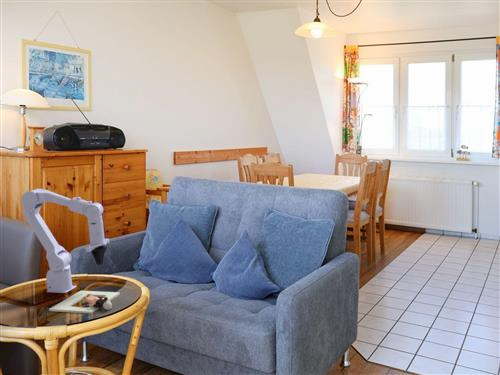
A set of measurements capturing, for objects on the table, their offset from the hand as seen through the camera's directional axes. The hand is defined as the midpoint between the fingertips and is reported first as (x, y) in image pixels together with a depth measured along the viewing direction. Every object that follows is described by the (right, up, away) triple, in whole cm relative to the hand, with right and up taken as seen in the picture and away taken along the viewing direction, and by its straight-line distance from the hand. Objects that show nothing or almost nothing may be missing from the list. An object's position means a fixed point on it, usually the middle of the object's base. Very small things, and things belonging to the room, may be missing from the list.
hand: (99, 264), depth 205 cm
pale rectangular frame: (0, -13, -15) cm, 19 cm away
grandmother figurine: (+1, -10, -18) cm, 20 cm away
